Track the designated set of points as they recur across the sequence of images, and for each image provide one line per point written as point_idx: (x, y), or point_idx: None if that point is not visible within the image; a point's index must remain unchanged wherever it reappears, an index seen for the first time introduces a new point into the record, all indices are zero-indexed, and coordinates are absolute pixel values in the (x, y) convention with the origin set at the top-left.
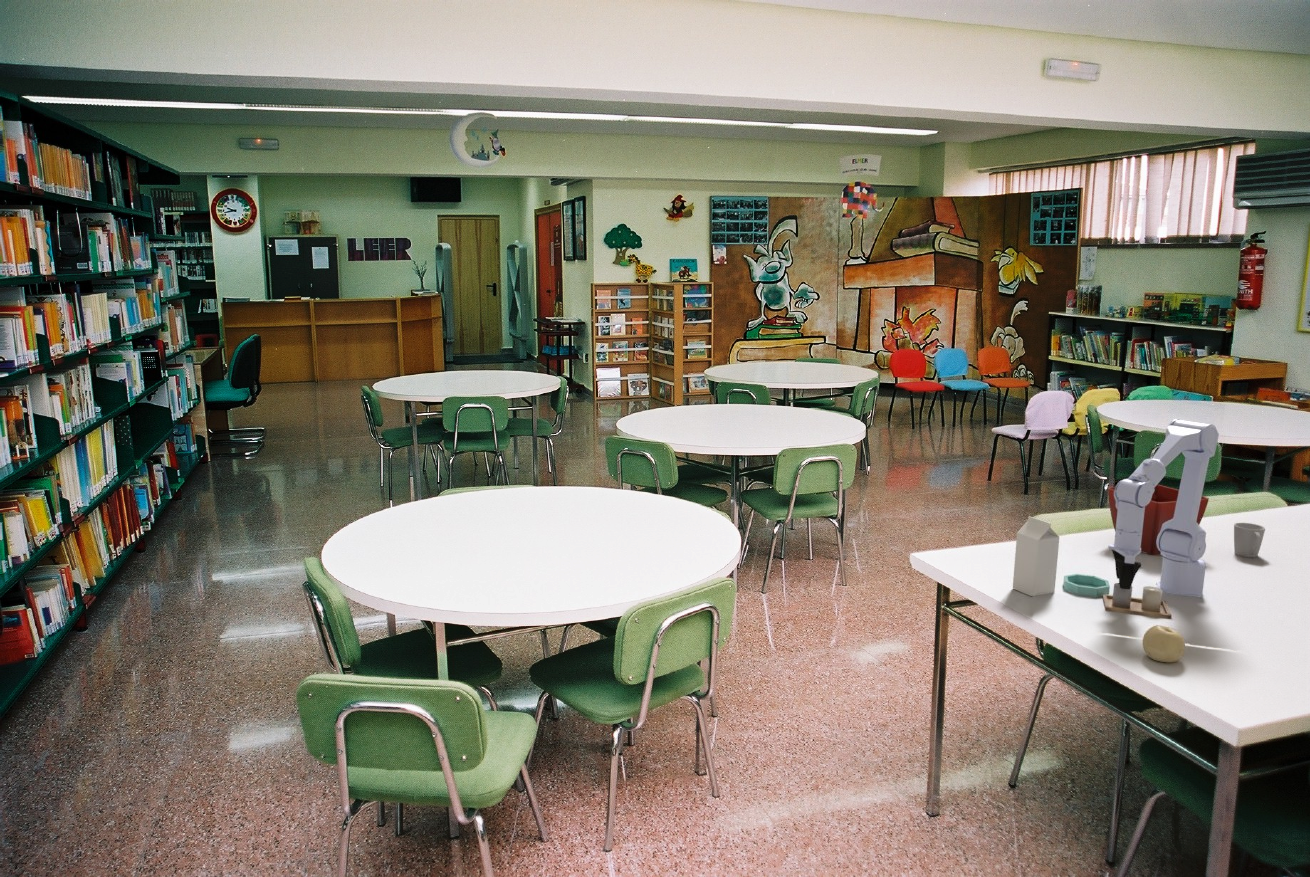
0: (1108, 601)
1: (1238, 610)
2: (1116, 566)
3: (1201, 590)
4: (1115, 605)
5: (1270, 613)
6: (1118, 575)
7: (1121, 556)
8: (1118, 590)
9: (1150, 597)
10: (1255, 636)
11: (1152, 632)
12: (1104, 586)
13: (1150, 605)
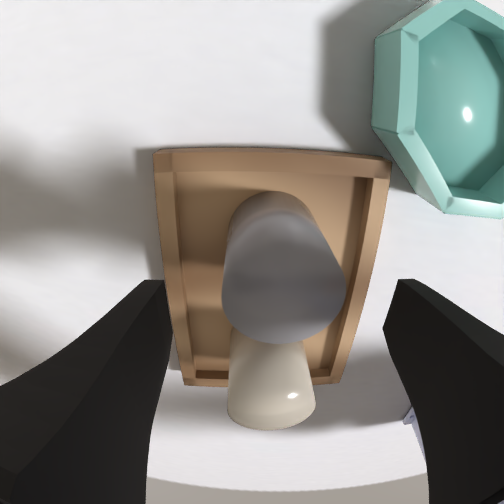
0: (315, 177)
1: (332, 457)
2: (454, 330)
3: (415, 431)
4: (241, 205)
5: (325, 477)
6: (406, 299)
7: (484, 438)
8: (230, 255)
9: (229, 378)
10: (174, 460)
11: None
12: (439, 185)
13: (230, 351)
